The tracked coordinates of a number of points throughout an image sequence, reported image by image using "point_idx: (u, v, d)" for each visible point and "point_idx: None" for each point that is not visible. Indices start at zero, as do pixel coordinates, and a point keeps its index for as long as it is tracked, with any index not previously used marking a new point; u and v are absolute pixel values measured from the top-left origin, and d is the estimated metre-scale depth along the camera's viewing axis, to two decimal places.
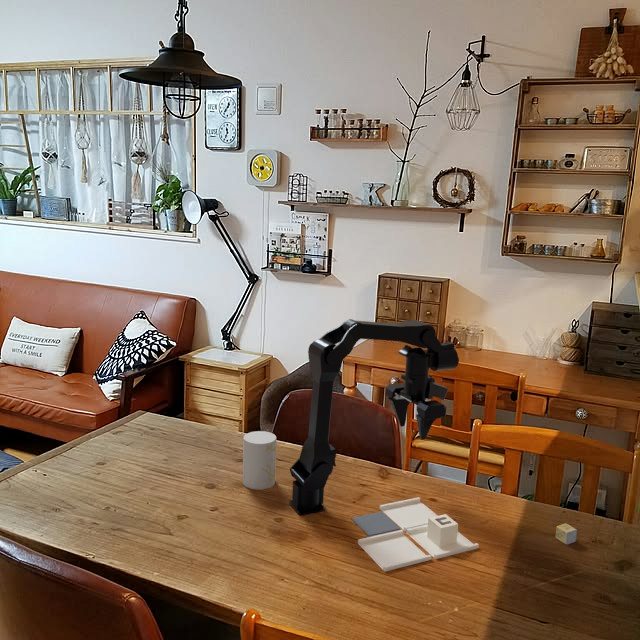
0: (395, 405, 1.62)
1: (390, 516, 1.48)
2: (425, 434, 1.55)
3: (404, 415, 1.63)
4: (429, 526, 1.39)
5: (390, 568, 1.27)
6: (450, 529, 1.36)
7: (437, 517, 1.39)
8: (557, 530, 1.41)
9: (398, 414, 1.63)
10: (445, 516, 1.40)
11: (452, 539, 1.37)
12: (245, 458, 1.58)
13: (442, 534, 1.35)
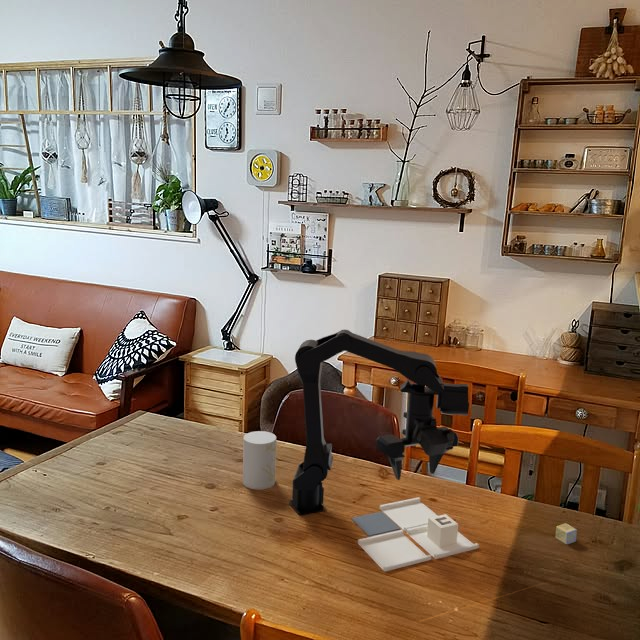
0: None
1: (390, 516, 1.48)
2: (396, 474, 1.44)
3: (433, 462, 1.47)
4: (429, 526, 1.39)
5: (390, 568, 1.27)
6: (450, 529, 1.36)
7: (437, 517, 1.39)
8: (557, 530, 1.41)
9: (429, 457, 1.49)
10: (445, 516, 1.40)
11: (452, 539, 1.37)
12: (245, 458, 1.58)
13: (442, 534, 1.35)
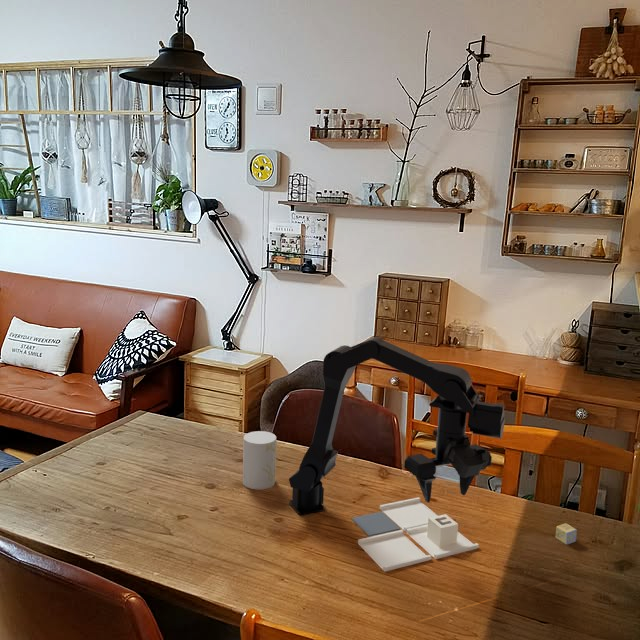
0: None
1: (390, 516, 1.48)
2: (426, 496, 1.34)
3: (465, 483, 1.38)
4: (429, 526, 1.39)
5: (390, 568, 1.27)
6: (450, 529, 1.36)
7: (437, 517, 1.39)
8: (557, 530, 1.41)
9: (460, 477, 1.39)
10: (445, 516, 1.40)
11: (452, 539, 1.37)
12: (245, 458, 1.58)
13: (442, 534, 1.35)
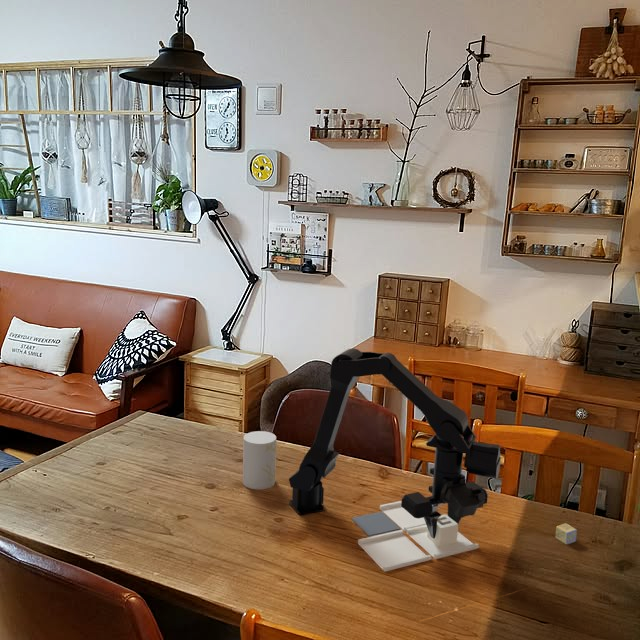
0: None
1: (390, 516, 1.48)
2: (431, 532, 1.37)
3: None
4: None
5: (390, 568, 1.27)
6: (450, 529, 1.36)
7: None
8: (557, 530, 1.41)
9: None
10: (445, 516, 1.40)
11: (452, 539, 1.37)
12: (245, 458, 1.58)
13: (442, 534, 1.35)
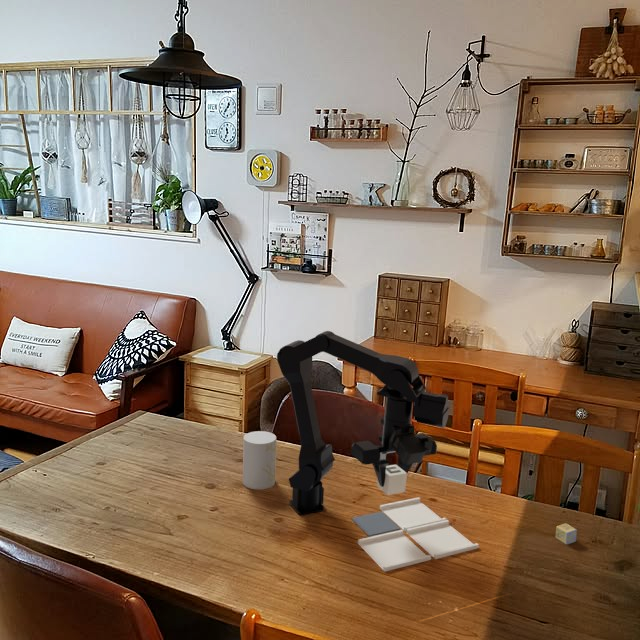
0: None
1: (390, 516, 1.48)
2: (380, 480, 1.39)
3: None
4: None
5: (390, 568, 1.27)
6: (399, 477, 1.38)
7: (387, 466, 1.41)
8: (557, 530, 1.41)
9: None
10: (395, 466, 1.42)
11: (400, 488, 1.39)
12: (245, 458, 1.58)
13: (390, 482, 1.38)
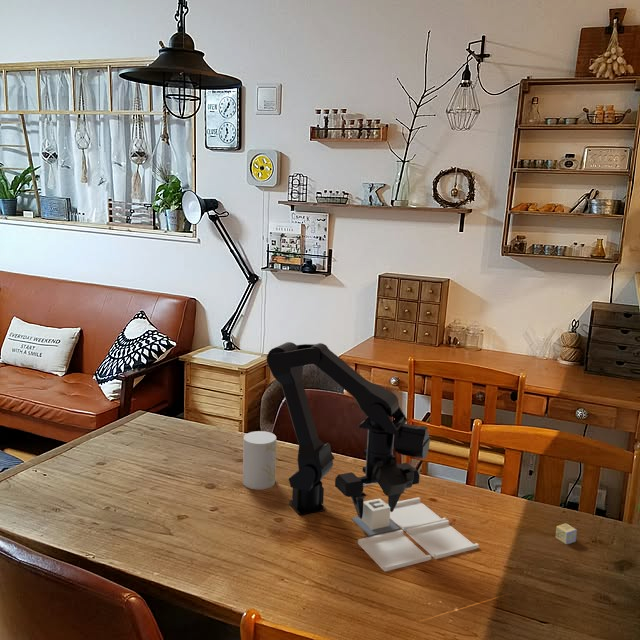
0: None
1: (390, 516, 1.48)
2: (358, 512, 1.41)
3: (392, 500, 1.44)
4: (363, 510, 1.44)
5: (390, 568, 1.27)
6: (382, 512, 1.41)
7: (371, 501, 1.44)
8: (557, 530, 1.41)
9: None
10: (379, 500, 1.45)
11: (384, 522, 1.42)
12: (245, 458, 1.58)
13: (374, 517, 1.41)
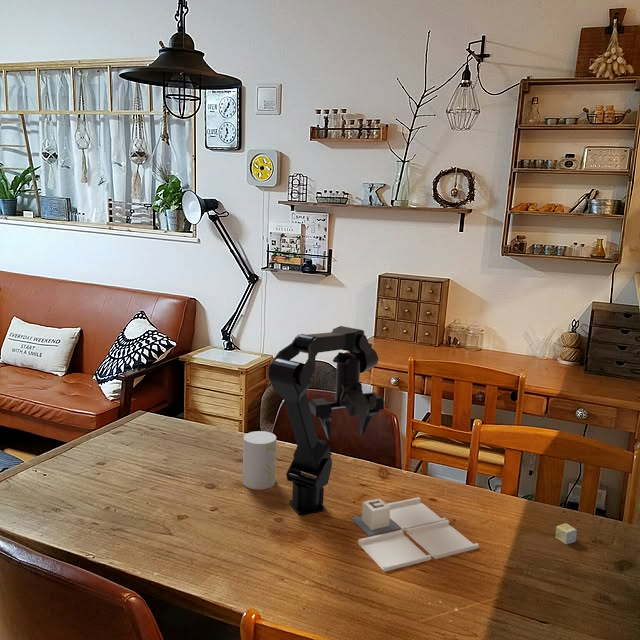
0: None
1: (390, 516, 1.48)
2: (326, 433, 1.59)
3: (362, 424, 1.63)
4: (363, 510, 1.44)
5: (390, 568, 1.27)
6: (382, 512, 1.41)
7: (371, 501, 1.44)
8: (557, 530, 1.41)
9: (360, 420, 1.64)
10: (379, 500, 1.45)
11: (384, 522, 1.42)
12: (245, 458, 1.58)
13: (374, 517, 1.41)
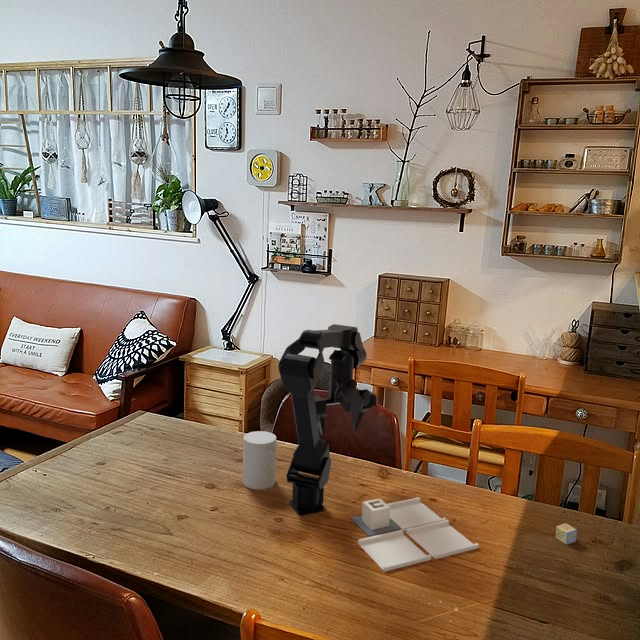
0: None
1: (390, 516, 1.48)
2: (321, 430, 1.62)
3: (355, 420, 1.66)
4: (363, 510, 1.44)
5: (390, 568, 1.27)
6: (382, 512, 1.41)
7: (371, 501, 1.44)
8: (557, 530, 1.41)
9: (352, 416, 1.67)
10: (379, 500, 1.45)
11: (384, 522, 1.42)
12: (245, 458, 1.58)
13: (374, 517, 1.41)
